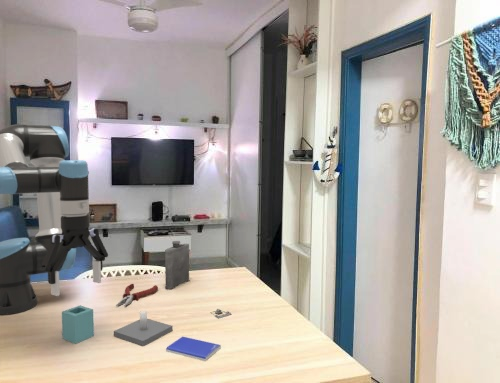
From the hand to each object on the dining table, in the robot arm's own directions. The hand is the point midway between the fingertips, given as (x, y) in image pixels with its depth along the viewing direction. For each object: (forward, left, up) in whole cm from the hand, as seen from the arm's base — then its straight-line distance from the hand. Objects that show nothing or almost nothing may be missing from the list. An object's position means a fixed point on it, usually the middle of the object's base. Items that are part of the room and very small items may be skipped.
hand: (77, 288), depth 117 cm
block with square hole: (0, 0, -15) cm, 15 cm away
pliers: (-14, +33, -15) cm, 39 cm away
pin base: (+14, +12, -15) cm, 23 cm away
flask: (-9, +53, -15) cm, 56 cm away
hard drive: (+33, +12, -15) cm, 38 cm away
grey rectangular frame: (+28, +38, -15) cm, 50 cm away
